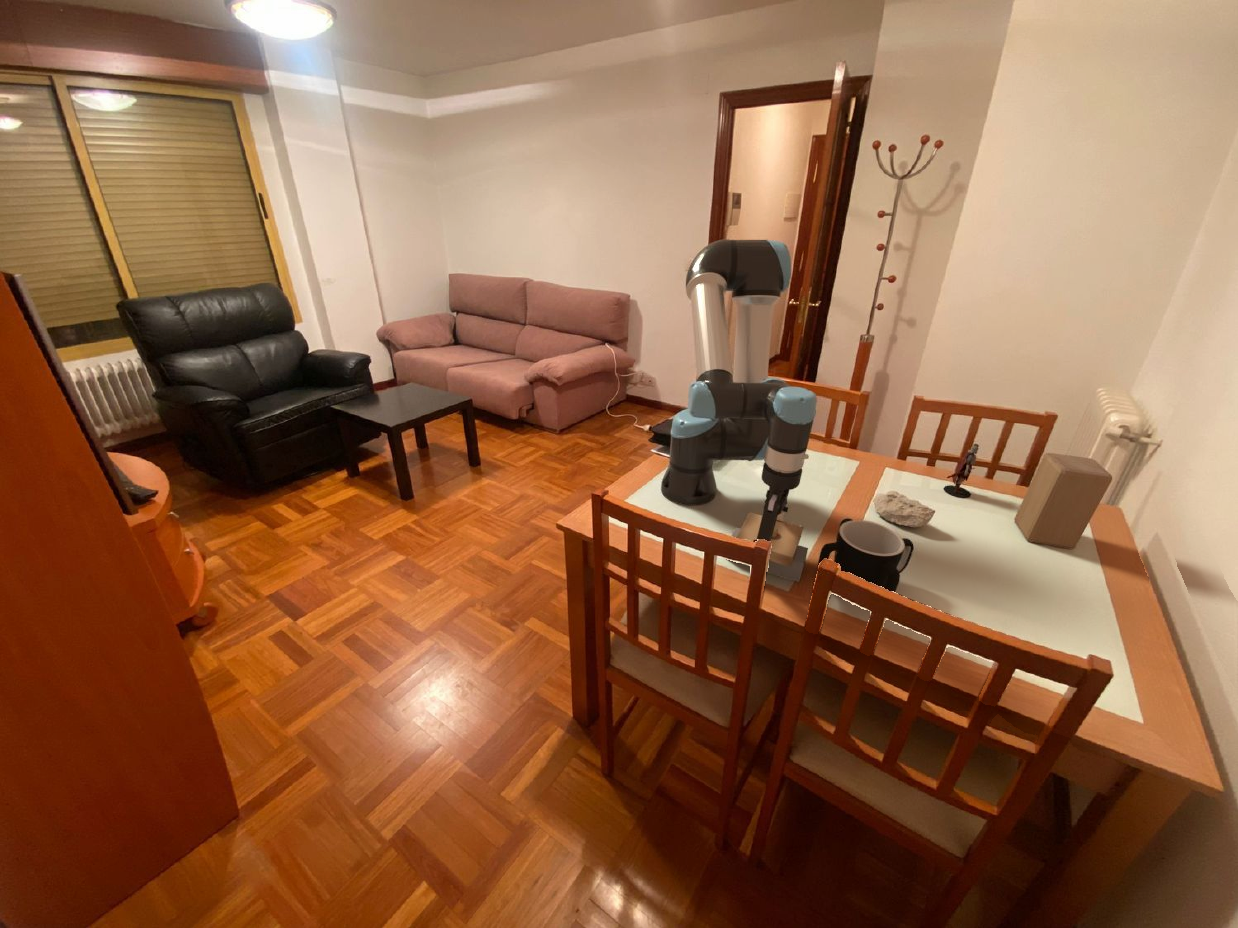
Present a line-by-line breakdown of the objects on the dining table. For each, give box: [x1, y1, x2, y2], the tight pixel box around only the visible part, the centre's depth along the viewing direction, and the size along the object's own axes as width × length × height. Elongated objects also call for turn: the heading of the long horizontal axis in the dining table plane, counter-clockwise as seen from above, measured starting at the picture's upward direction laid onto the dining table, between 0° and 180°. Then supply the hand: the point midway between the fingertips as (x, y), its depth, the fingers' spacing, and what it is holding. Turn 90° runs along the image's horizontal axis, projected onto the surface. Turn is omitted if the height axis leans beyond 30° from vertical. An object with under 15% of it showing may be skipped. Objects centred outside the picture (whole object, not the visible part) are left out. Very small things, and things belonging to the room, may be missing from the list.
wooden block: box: [1014, 452, 1113, 550], centre depth 118 cm, size 10×10×20 cm
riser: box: [731, 527, 809, 583], centre depth 110 cm, size 16×6×5 cm, turn 62°
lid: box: [736, 512, 804, 567], centre depth 108 cm, size 12×12×4 cm
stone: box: [872, 490, 936, 528], centre depth 126 cm, size 8×12×10 cm
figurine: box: [943, 443, 980, 499], centre depth 137 cm, size 7×7×15 cm
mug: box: [817, 517, 915, 593], centre depth 103 cm, size 16×16×12 cm
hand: (766, 550), depth 110 cm, fingers closed on lid, 12 cm apart
